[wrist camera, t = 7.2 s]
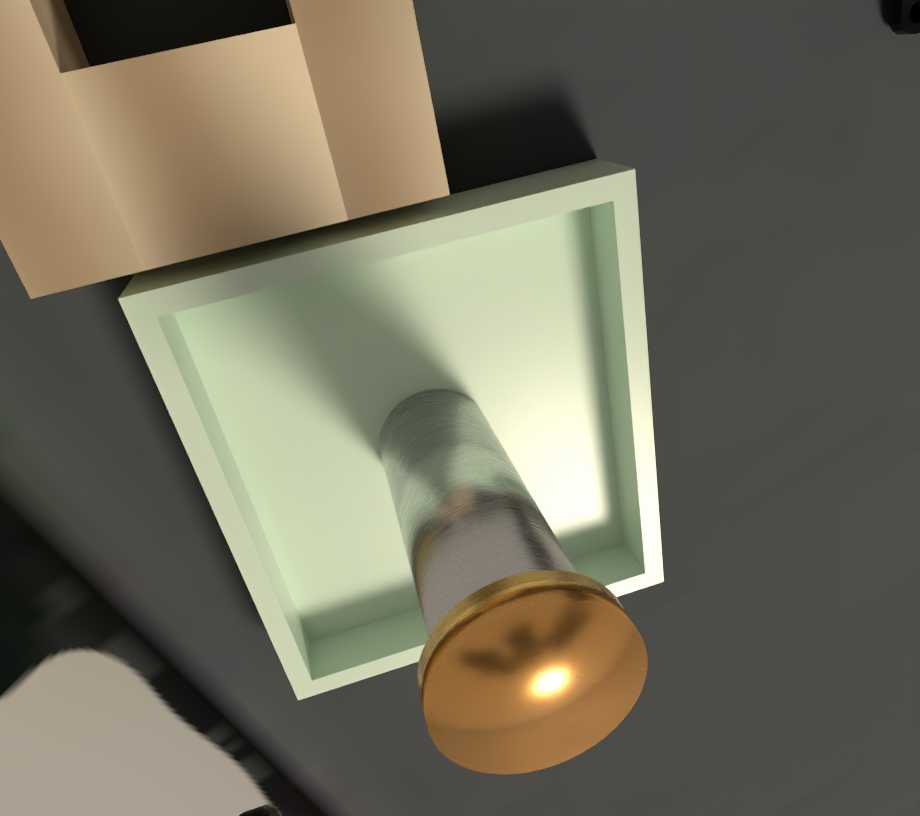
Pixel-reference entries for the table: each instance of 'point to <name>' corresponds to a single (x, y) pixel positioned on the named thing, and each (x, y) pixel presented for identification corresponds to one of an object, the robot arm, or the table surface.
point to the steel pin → (500, 601)
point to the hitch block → (206, 138)
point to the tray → (410, 394)
